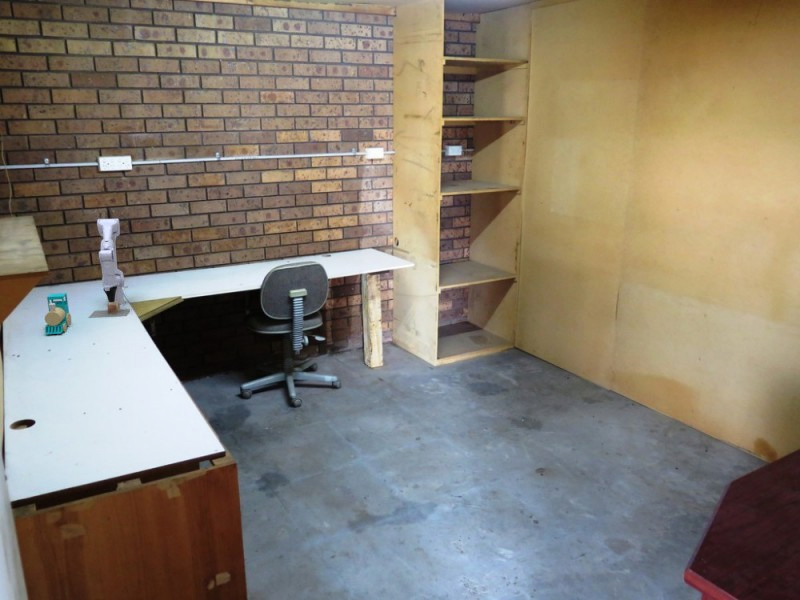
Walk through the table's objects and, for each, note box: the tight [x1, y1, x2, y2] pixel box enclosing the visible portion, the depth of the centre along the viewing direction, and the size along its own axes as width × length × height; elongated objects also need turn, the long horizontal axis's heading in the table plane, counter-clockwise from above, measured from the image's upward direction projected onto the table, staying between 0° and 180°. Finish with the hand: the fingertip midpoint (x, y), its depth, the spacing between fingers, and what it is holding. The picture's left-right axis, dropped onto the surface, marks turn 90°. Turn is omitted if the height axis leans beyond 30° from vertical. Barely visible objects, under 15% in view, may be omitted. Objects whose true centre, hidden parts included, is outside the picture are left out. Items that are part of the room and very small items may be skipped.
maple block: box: [106, 301, 121, 313], centre depth 303 cm, size 4×4×8 cm
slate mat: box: [87, 308, 131, 319], centre depth 300 cm, size 13×17×1 cm
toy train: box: [44, 292, 72, 335], centre depth 273 cm, size 8×17×15 cm, turn 15°
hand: (111, 302), depth 300 cm, fingers closed
